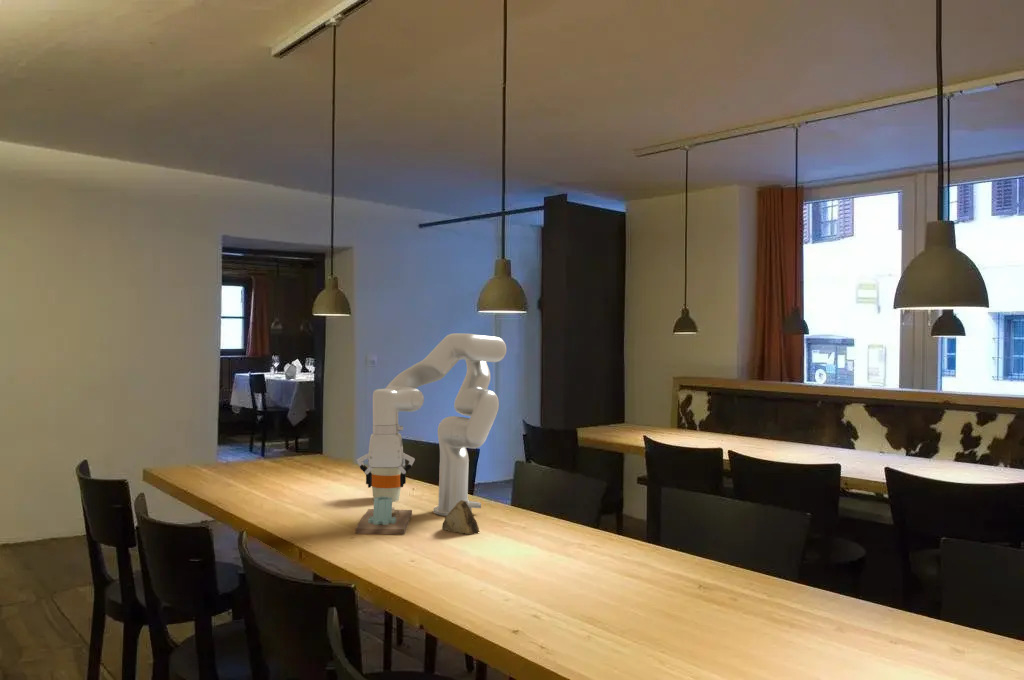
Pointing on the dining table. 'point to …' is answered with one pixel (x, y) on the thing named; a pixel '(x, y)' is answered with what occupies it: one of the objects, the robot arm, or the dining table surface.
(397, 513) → the gear board
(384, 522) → the loose cog
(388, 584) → the dining table surface
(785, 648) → the dining table surface
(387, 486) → the reusable coffee cup
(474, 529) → the rock
